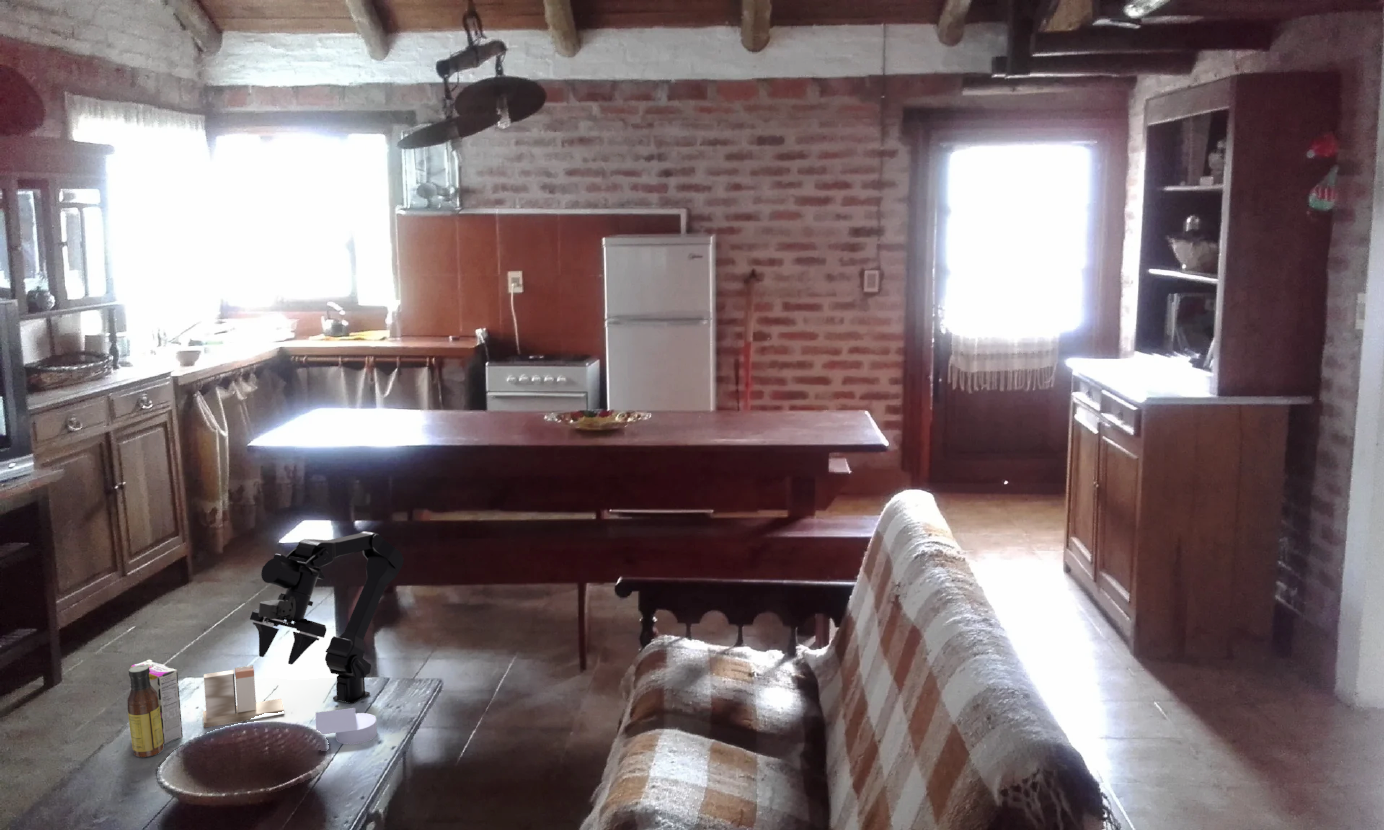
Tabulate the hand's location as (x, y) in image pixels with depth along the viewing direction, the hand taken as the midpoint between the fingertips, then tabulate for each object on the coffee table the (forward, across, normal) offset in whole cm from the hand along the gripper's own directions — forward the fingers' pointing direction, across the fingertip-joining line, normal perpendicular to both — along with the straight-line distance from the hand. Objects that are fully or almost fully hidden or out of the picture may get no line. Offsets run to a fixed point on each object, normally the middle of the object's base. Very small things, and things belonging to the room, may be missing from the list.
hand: (275, 660), depth 249 cm
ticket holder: (+14, -15, +11) cm, 23 cm away
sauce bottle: (+26, -18, -9) cm, 33 cm away
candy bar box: (+22, -23, -3) cm, 32 cm away
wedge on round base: (+12, +15, +14) cm, 24 cm away
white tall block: (+12, -15, +11) cm, 22 cm away
